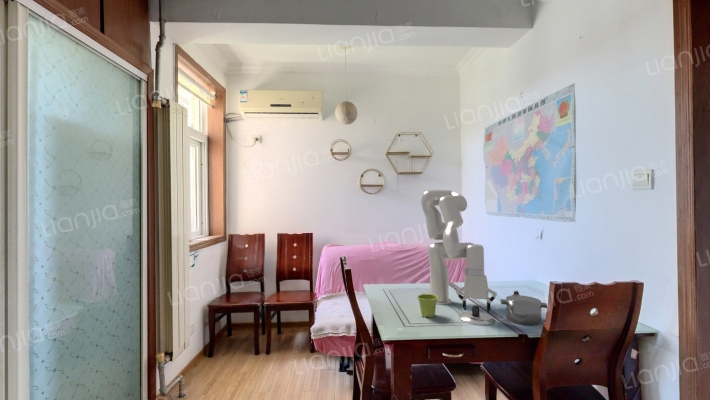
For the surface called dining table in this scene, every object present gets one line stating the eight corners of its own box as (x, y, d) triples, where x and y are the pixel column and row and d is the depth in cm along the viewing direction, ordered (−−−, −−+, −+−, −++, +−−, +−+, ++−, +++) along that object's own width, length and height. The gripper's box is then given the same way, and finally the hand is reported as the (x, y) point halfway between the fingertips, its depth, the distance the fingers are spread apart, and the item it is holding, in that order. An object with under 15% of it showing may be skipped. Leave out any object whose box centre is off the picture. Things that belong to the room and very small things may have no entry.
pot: (502, 323, 143) (502, 302, 143) (499, 312, 156) (499, 293, 156) (550, 328, 137) (550, 306, 137) (543, 317, 150) (543, 297, 150)
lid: (457, 323, 144) (457, 309, 144) (459, 312, 158) (458, 299, 158) (494, 327, 139) (494, 312, 139) (492, 316, 153) (492, 302, 153)
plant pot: (426, 320, 147) (426, 300, 147) (413, 314, 156) (413, 295, 156) (442, 316, 152) (442, 297, 152) (429, 311, 160) (428, 293, 160)
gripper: (455, 272, 148) (456, 311, 147) (496, 274, 142) (498, 314, 141) (455, 269, 155) (456, 306, 154) (495, 271, 149) (496, 309, 149)
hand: (476, 310), depth 148 cm, fingers open, 9 cm apart
